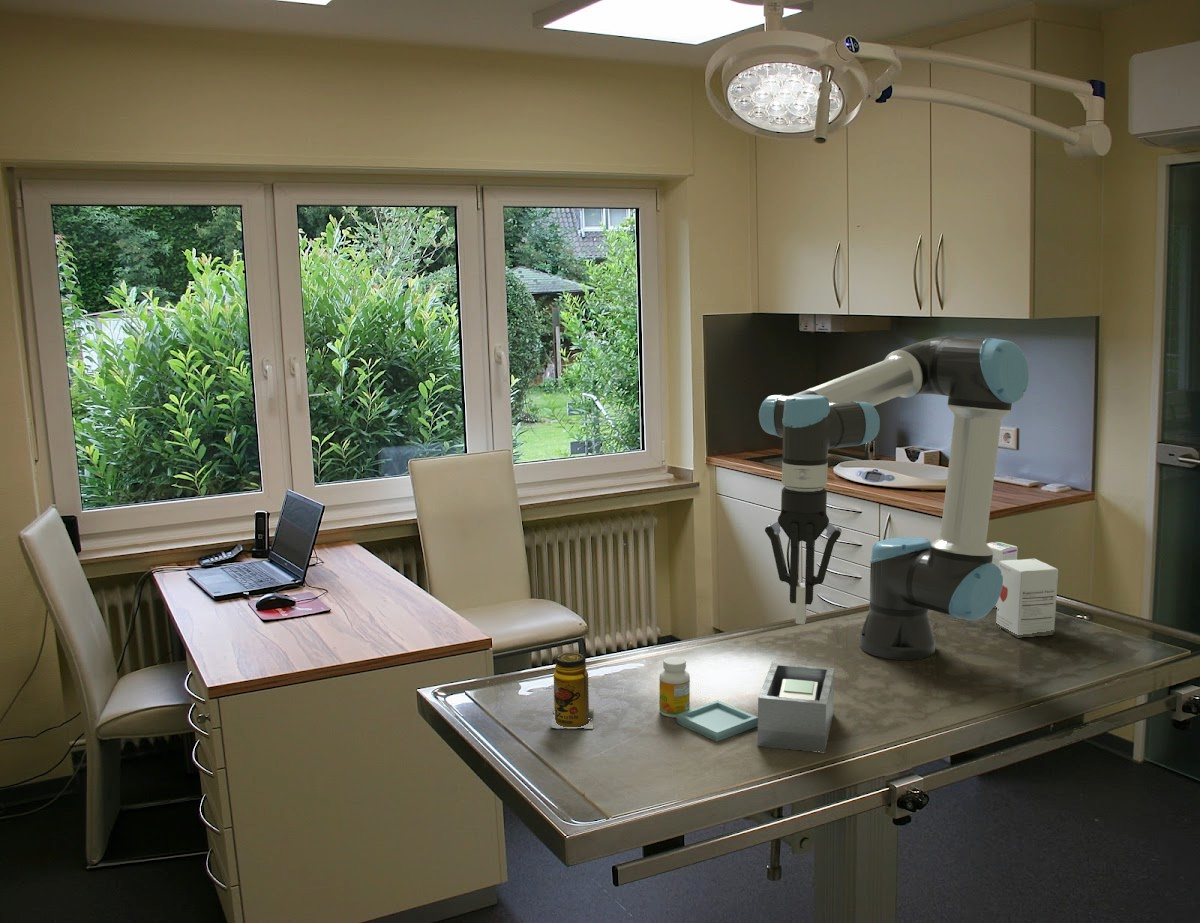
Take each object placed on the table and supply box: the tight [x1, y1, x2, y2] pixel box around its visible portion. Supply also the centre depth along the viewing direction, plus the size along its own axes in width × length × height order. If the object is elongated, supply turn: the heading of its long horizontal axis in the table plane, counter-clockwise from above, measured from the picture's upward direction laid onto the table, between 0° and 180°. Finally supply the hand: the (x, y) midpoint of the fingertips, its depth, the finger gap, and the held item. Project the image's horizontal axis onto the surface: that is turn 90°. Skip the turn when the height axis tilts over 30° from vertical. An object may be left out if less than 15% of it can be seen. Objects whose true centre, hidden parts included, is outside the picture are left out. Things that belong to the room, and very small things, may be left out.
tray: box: [675, 699, 758, 742], centre depth 193 cm, size 10×10×2 cm
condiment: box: [553, 652, 595, 730], centre depth 194 cm, size 7×8×12 cm
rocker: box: [777, 679, 818, 701], centre depth 190 cm, size 10×7×2 cm
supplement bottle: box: [658, 656, 691, 719], centre depth 198 cm, size 5×5×10 cm
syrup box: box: [986, 541, 1019, 607], centre depth 257 cm, size 6×6×14 cm
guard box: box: [756, 661, 835, 753], centre depth 190 cm, size 17×11×8 cm, turn 164°
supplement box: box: [995, 558, 1059, 635], centre depth 239 cm, size 9×9×15 cm
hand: (800, 621), depth 191 cm, fingers closed
